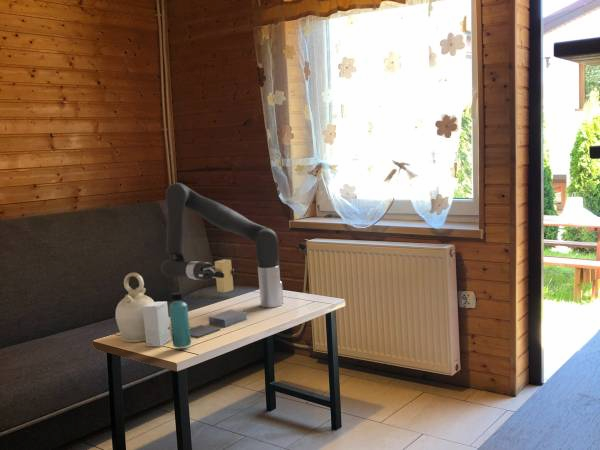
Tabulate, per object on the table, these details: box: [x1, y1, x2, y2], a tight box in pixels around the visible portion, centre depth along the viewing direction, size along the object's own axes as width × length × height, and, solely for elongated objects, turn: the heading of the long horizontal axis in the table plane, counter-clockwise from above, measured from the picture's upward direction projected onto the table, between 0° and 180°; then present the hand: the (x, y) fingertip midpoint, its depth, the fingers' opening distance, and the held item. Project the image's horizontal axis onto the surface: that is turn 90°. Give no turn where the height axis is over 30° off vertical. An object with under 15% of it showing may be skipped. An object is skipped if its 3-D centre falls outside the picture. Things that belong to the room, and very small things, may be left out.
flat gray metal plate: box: [190, 324, 221, 339], centre depth 245 cm, size 11×11×1 cm
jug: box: [115, 272, 155, 344], centre depth 242 cm, size 15×16×25 cm
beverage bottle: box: [168, 291, 192, 348], centre depth 225 cm, size 6×7×20 cm
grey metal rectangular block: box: [208, 309, 248, 328], centre depth 256 cm, size 12×9×3 cm
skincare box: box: [143, 301, 172, 348], centre depth 233 cm, size 8×6×15 cm
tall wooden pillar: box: [214, 258, 234, 293], centre depth 254 cm, size 5×4×12 cm
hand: (228, 273), depth 253 cm, fingers closed on tall wooden pillar, 5 cm apart
